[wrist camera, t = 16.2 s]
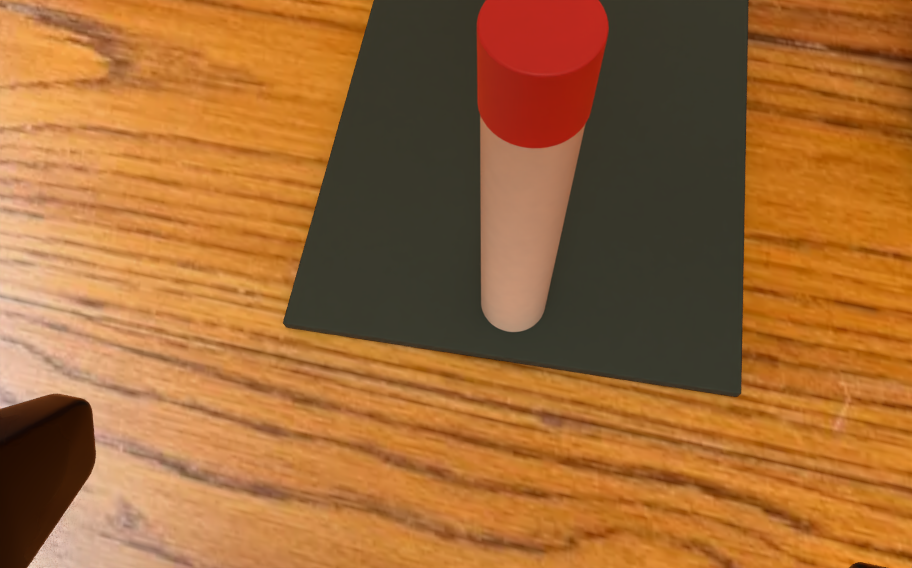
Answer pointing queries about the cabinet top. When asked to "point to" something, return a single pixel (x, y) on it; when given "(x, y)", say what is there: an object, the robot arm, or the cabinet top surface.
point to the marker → (530, 141)
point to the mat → (588, 211)
